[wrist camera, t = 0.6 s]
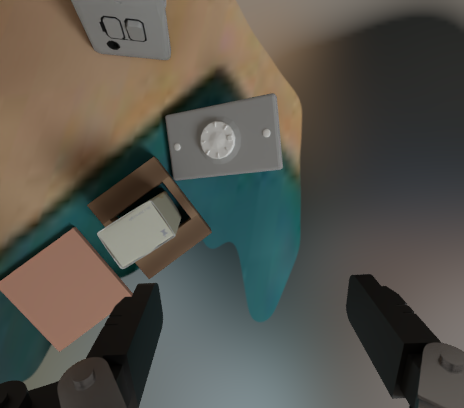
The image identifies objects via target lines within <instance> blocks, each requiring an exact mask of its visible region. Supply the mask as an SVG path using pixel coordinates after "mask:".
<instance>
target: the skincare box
mask: <svg viewBox="0 0 464 408" xmlns="http://www.w3.org/2000/svg"><path fill="white" fill-rule="evenodd" d="M181 217H182V215H181V214H180V212H179V210H178V209H177V207H176V206H175V204H174V203H173V201H172V199H171V198H170V197H169V195H168V194H167V192H166V191H163V192H162V193H160V194H158V195H157V196H155V197H153V198H152V199H150V200H148V201H147V202H145V203H143V204H142V205H140V206H139V207H137V208H135V209H134V210H132V211H130V212H129V213H127V214H125V215H124V216H122V217H121V218H119V219H118V220H116V221H114V222H113V223H111V224H110V225H108V226H107V227H105V228H104V229H102V230H101V231H99V232H98V233H97V235H98V237H99V238H100V240H101V241H102V243H103V244H104V246H105V247H106V249H107V250H108V252H109V253H110V254H111V256H112V257H113V259H114V260H115V261H116V263H117V264H118V266H119V267H120V268H121V269H124V268H126V267H128V266H129V265H131V264H133V263H134V262H136V261H138V260H139V259H141V258H143V257H144V256H146V255H148V254H149V253H151V252H152V251H154V250H155V249H157V248H158V247H160V246H161V245H163V244H164V243H166V242H167V241H169V240H170V239H172V238H174V237H175V236H176V233H177V230H178V226H179V223H180V220H181Z"/></svg>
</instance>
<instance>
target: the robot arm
mask: <svg viewBox="0 0 464 408" xmlns="http://www.w3.org/2000/svg"><path fill="white" fill-rule="evenodd" d="M346 311H347V315H348V319H349V321H350V323H351V325H352V327H353V328H354V330H355V332H356V334H357V336H358V338H359V339H360V341H361V343H362V345H363V347H364V348H365V350H366V352H367V354H368V356H369V357H370V359H371V361H372V363H373V365H374V366H375V368H376V370H377V372H378V374H379V375H380V377H381V379H382V381H383V383H384V384H385V386H386V388H387V390H388V392H389V394H390V395H391V397H392V398H406V399H407V401H408V403H409V405H410V406H409V408H464V352H463V351H462V350H460V349H458V348H456V347H454V346H451V345H448V344H444V343H441V342H440V340H439V339H438V338H437V337H436V336H435V335H434V334H433V333H432V332H431V331H430V329H429V328H428V327H427V326H426V325H425V324H424V322H423V321H421V319H420V318H419V317H418V316H417V315H416V314H414V311H413V310H412V309H411V308H410V307H409V306H407V303H406V302H405V301H404V300H403V299H402V298H401V297H400V296H399V294H397V293H396V292H394V291H393V290H391V289H389V288H388V287H387V286H381V285H380V284H379V283H378V282H377V280H376V279H375V278H374V277H373V276H372V275H371V274H363V275H351V276H350V279H349V286H348V296H347V304H346ZM162 324H163V312H162V305H161V299H160V293H159V286H158V284H157V283H144V284H138V285H137V287H136V289H135V291H134V293H133V295H132V297H124V298H123V299H122V300H121V301H120V302H119V303H117V304H116V305H115V307H114V308H113V310H112V312H111V314H110V316H109V318H108V319H107V321H106V323H105V326H104V327H103V329H102V330H101V332H100V334H99V336H98V338H97V339H96V341H95V343H94V345H93V346H92V348H91V350H90V352H89V354H88V355H87V357H86V359H84V360H81V361H80V362H77V363H76V364H75V365H73V366H72V367H70V368H69V369H68V370H67V371H66V372H65V373H64V374H63V376H62V377H61V379H60V380H59V381H58V382H55V383H52V384H49V385H46V386H43V387H40V388H36V389H33V390H30V391H28V390H27V388H26V385H25V384H24V383H23V382H21V381H8V382H4V383H2V384H0V408H139V404H140V401H141V398H142V394H143V391H144V387H145V384H146V381H147V377H148V374H149V370H150V367H151V364H152V360H153V357H154V353H155V350H156V347H157V343H158V339H159V336H160V333H161V329H162Z"/></svg>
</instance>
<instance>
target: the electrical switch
mask: <svg viewBox="0 0 464 408" xmlns="http://www.w3.org/2000/svg"><path fill="white" fill-rule="evenodd" d="M71 1H72V4H73V6H74V8H75V10H76V12H77V14H78V16H79V18H80V21H81V23H82V25H83V27H84V29H85V31H86V33H87V36H88V38H89V40H90V42H91V44H92V46H93V48H94V50H95V51H97V52H98V53H101V54H110V55H120V56H130V57H140V58H150V59H160V60H168V59H169V58H170V55H171V47H170V40H169V33H168V26H167V18H166V11H165V7H166V0H71Z"/></svg>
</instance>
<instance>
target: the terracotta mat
mask: <svg viewBox="0 0 464 408" xmlns="http://www.w3.org/2000/svg"><path fill="white" fill-rule="evenodd" d="M0 290H1V291H2V292H3V293H4V295H5V296H6V297H7V298H8V299H9V300H10V301H11V302H12V303H13V304H14V305H15V306H16V307H17V308H18V309H19V310H20V311H21V312H22V313H23V314H24V315H25V316H26V318H27V319H28V320H29V321H30V322H31V323H32V324H33V325H34V326H35V327H36V328H37V329H38V330H39V331H40V332H41V333H42V334H43V335H44V336H45V337H46V338H47V339H48V340H49V342H50V343H51V344H52V345H53V346H54V347H55V348H56V349H57V350H58V351H59V352H60V351H61V350H62V349H64V348H65V347H67V346H68V345H69V344H70V343H72V342H73V341H74V340H76V339H77V338H78V337H80V336H81V335H83V334H84V333H85V332H87V331H88V330H89V329H91V328H92V327H93V326H95V325H96V324H97V323H98V322H100V321H101V320H103V319H104V318H105V317H107V316H108V315H109V314H111V312H112V310H113V308H114V307H115V305H116V304H117V303H119V302H120V301H121V300H122V299H123V298H124V297H132V295H133V293H132V292H131V291H130V290H129V289H128V287H127V286H126V285H125V284H124V283H123V282H122V280H121V279H120V278H119V277H118V276H117V275H116V273H115V272H114V271H113V270H112V269H111V268H110V266H109V265H108V264H107V263H106V262H105V261H104V259H103V258H102V257H101V256H100V255H99V254H98V252H97V251H96V250H95V249H94V248H93V247H92V245H91V244H90V243H89V242H88V241H87V240H86V238H85V237H84V236H83V235H82V234H81V233H80V231H79V230H78V229H77V228H76V227H74V228H72V229H71V230H70V231H68V232H67V233H66V234H64V235H63V236H61V237H60V238H59V239H57V240H56V241H55V242H53V243H52V244H51V245H49V246H48V247H46V248H45V249H44V250H42V251H41V252H40V253H38V254H37V255H35V256H34V257H33V258H31V259H30V260H29V261H27V262H26V263H24V264H23V265H22V266H20V267H19V268H18V269H16V270H15V271H13V272H12V273H11V274H9V275H8V276H7V277H5V278H4V279H2V280H1V281H0Z"/></svg>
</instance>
